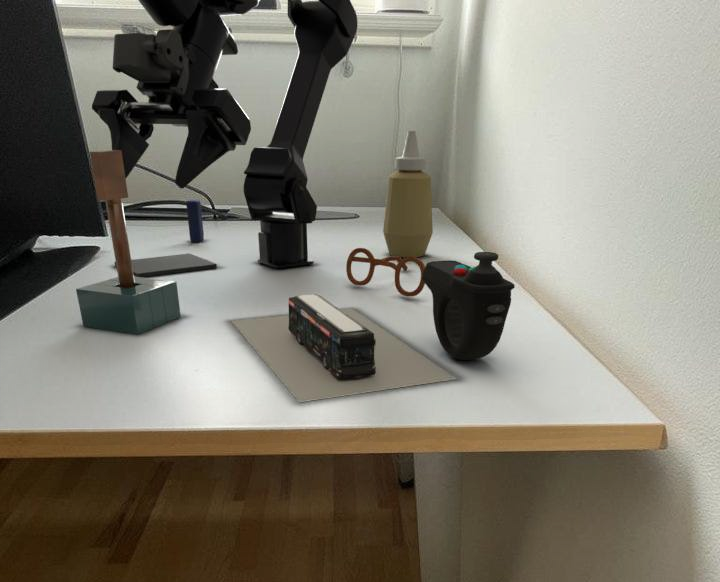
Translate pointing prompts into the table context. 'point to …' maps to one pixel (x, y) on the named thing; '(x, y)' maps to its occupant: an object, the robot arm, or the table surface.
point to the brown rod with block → (114, 207)
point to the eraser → (195, 220)
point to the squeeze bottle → (408, 204)
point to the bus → (334, 351)
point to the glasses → (384, 262)
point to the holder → (129, 305)
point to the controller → (468, 305)
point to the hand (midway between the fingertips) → (146, 184)
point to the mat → (169, 265)
